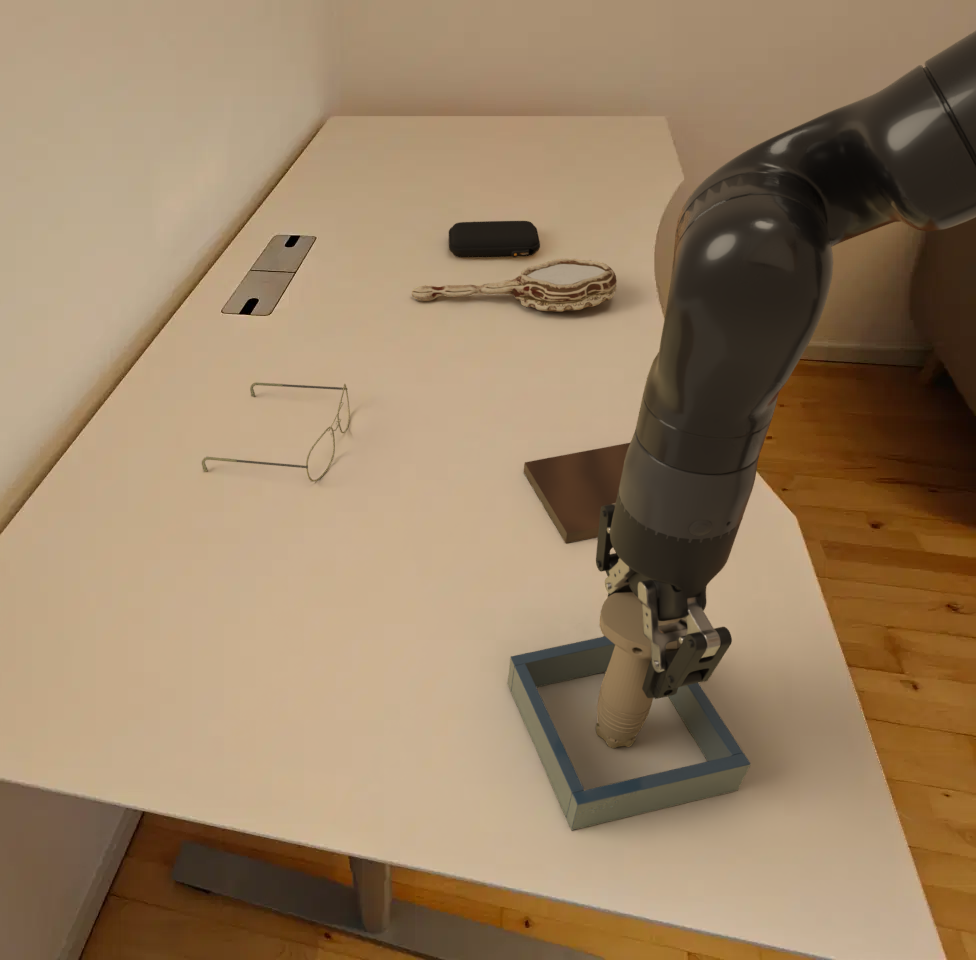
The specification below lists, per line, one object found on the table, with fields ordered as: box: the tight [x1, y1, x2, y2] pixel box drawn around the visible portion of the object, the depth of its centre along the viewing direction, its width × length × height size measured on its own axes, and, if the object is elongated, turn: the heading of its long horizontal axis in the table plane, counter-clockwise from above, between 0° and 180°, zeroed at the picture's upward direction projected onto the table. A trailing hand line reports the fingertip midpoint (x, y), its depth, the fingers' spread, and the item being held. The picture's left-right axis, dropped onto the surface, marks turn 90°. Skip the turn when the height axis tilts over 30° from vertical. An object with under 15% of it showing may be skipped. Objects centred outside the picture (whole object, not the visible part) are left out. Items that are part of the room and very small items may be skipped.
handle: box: [595, 592, 681, 749], centre depth 66 cm, size 5×6×15 cm
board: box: [523, 442, 630, 544], centre depth 93 cm, size 14×12×2 cm
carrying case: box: [448, 220, 541, 259], centre depth 139 cm, size 11×3×15 cm
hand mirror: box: [411, 258, 618, 312], centre depth 125 cm, size 11×6×30 cm
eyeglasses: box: [201, 381, 351, 482], centre depth 103 cm, size 16×15×5 cm
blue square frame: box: [506, 635, 752, 831], centre depth 69 cm, size 14×14×4 cm
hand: (636, 656), depth 64 cm, fingers closed on handle, 6 cm apart
